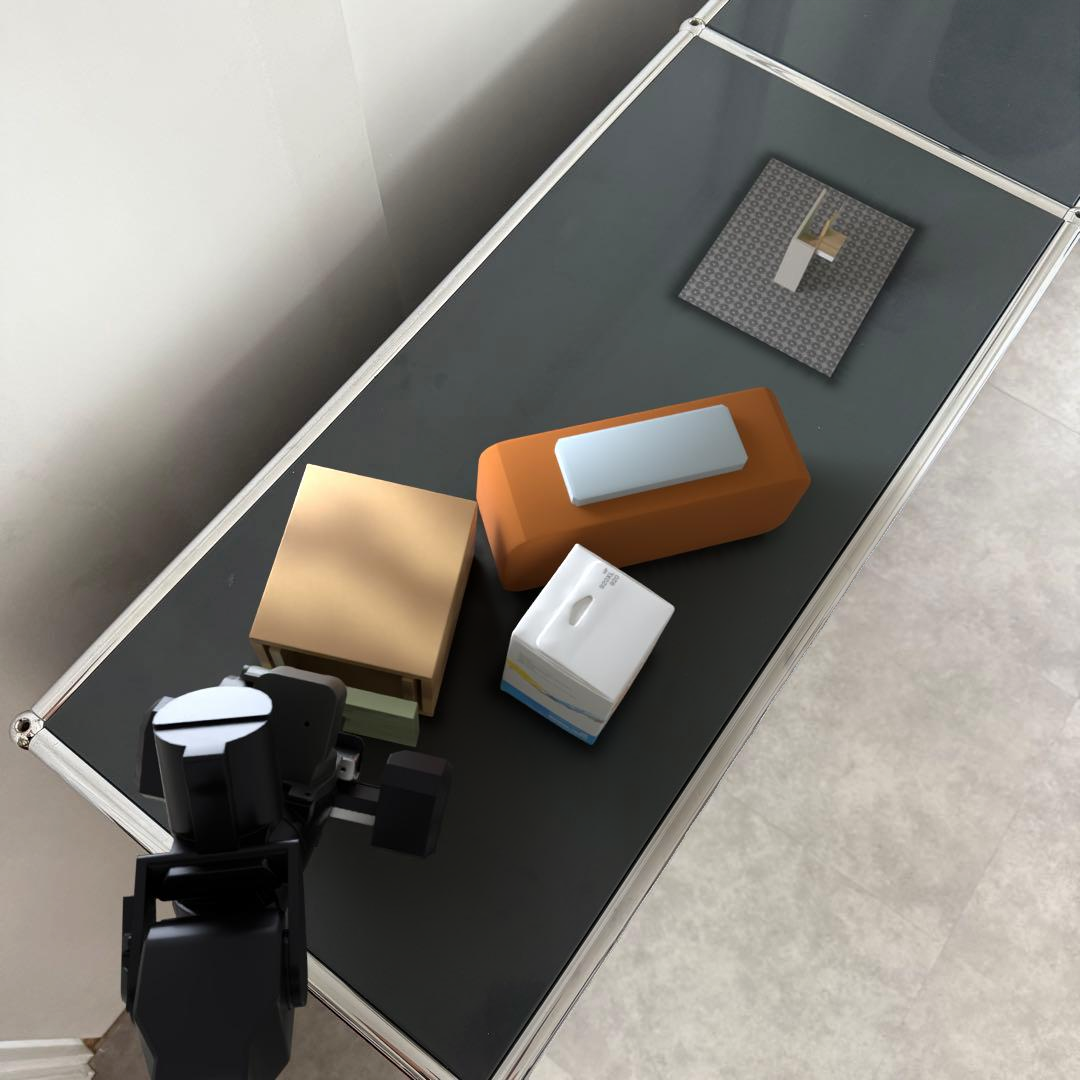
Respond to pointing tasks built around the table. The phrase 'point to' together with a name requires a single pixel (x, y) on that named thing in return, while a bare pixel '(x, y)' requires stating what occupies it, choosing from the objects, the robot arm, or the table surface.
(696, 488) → the alarm clock
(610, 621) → the ink box
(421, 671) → the cabinet
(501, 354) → the table surface
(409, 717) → the drawer
